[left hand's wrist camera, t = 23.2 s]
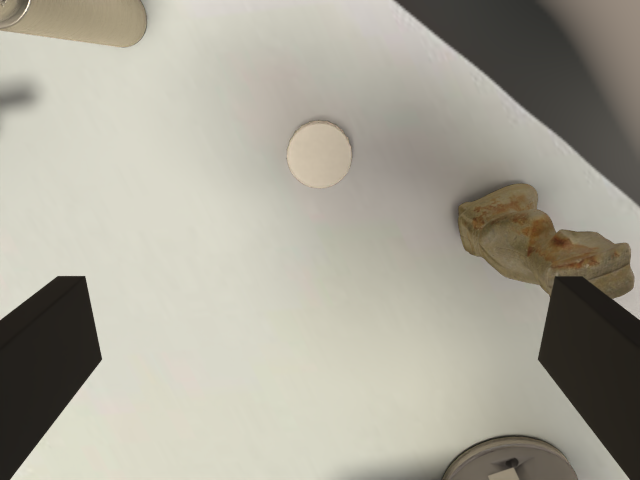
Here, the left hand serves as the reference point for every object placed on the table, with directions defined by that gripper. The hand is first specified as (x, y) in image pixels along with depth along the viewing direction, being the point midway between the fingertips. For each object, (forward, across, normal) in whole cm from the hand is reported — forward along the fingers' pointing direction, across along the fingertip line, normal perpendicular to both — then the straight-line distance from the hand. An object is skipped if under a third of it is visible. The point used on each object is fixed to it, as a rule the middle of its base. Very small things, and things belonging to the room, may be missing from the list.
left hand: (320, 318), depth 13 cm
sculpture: (+27, -15, +5) cm, 32 cm away
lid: (+25, 0, 0) cm, 25 cm away
